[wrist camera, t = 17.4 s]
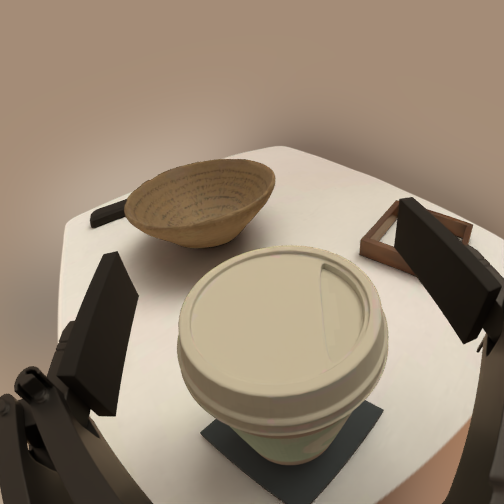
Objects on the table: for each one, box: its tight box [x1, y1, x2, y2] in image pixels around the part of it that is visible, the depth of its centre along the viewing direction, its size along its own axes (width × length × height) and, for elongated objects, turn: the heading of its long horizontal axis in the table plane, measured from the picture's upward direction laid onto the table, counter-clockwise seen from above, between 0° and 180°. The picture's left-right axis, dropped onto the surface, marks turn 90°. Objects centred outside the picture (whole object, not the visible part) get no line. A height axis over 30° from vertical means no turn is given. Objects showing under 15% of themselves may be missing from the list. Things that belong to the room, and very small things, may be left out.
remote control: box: [90, 199, 127, 228], centre depth 52 cm, size 5×2×15 cm
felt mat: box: [200, 400, 383, 504], centre depth 18 cm, size 9×9×1 cm
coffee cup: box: [177, 246, 388, 465], centre depth 14 cm, size 8×9×12 cm
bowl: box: [124, 159, 275, 248], centre depth 37 cm, size 18×18×8 cm
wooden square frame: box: [360, 200, 473, 276], centre depth 31 cm, size 11×11×2 cm
